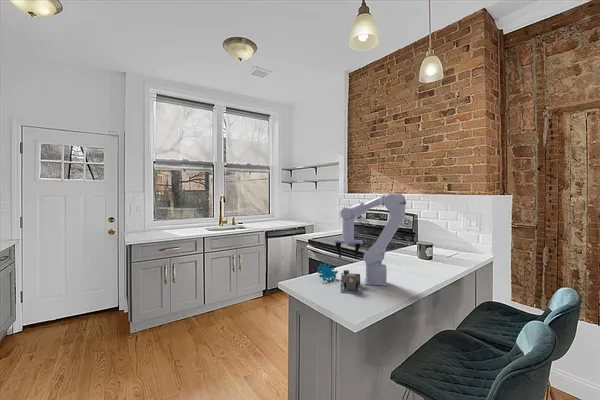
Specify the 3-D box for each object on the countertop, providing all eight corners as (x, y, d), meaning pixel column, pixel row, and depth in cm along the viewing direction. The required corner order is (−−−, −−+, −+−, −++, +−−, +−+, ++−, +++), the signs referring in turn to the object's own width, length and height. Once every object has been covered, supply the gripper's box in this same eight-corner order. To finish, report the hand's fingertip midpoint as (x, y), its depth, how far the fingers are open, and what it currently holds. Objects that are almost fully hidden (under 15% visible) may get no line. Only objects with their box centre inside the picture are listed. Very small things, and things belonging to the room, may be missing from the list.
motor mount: (360, 284, 133) (360, 270, 133) (361, 293, 122) (362, 277, 121) (340, 283, 135) (340, 269, 135) (340, 292, 123) (340, 276, 123)
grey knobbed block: (355, 287, 128) (355, 273, 128) (355, 291, 123) (356, 277, 122) (346, 286, 128) (346, 273, 128) (346, 290, 123) (346, 277, 123)
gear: (320, 280, 134) (316, 261, 141) (315, 286, 138) (312, 267, 145) (341, 281, 138) (336, 263, 145) (336, 287, 142) (331, 269, 149)
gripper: (333, 231, 143) (332, 258, 144) (362, 233, 140) (362, 260, 141) (334, 229, 150) (334, 255, 151) (362, 231, 147) (362, 257, 147)
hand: (347, 257), depth 146 cm, fingers open, 7 cm apart
